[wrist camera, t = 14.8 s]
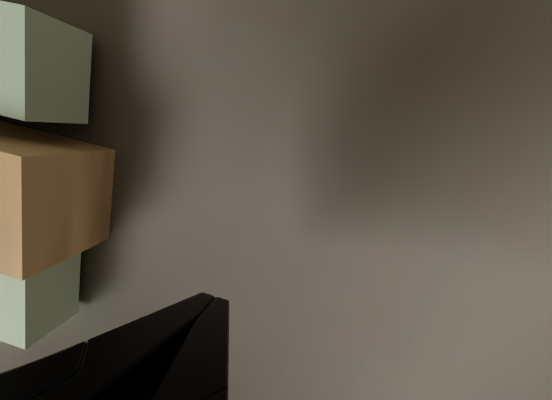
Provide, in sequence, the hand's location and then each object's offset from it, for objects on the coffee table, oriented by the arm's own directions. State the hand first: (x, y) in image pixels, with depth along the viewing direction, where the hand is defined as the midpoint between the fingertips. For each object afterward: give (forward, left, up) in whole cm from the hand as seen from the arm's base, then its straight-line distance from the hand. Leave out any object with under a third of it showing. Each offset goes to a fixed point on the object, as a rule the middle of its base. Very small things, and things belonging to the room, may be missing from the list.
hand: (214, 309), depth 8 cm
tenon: (+10, -1, -4) cm, 11 cm away
